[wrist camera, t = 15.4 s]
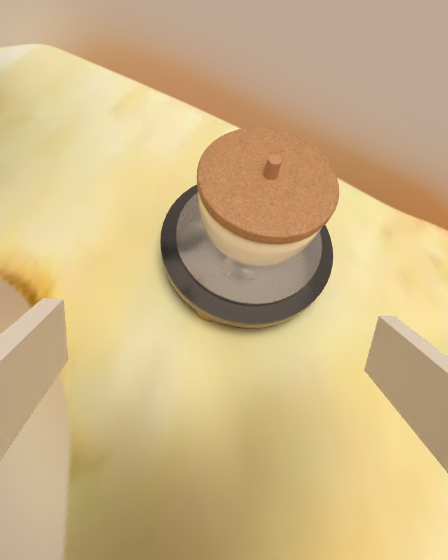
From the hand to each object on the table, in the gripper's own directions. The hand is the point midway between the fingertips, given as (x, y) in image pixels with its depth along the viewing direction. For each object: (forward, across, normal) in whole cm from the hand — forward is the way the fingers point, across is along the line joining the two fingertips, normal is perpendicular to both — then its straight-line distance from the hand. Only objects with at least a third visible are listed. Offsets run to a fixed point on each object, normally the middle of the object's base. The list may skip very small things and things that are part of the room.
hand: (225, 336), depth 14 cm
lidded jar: (+18, +4, +1) cm, 19 cm away
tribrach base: (+22, +4, -3) cm, 22 cm away
